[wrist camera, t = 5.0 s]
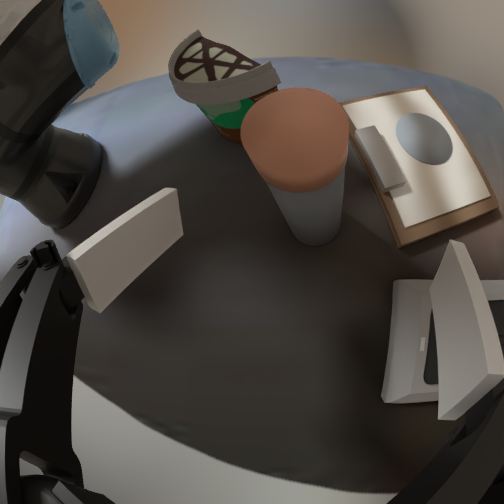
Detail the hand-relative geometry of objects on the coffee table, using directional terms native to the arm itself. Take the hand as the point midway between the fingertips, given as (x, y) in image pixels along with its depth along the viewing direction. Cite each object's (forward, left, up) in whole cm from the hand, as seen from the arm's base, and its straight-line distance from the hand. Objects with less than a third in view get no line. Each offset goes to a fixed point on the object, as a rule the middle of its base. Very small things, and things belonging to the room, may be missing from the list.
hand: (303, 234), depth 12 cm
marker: (+1, +4, -11) cm, 11 cm away
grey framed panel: (+11, -10, -11) cm, 19 cm away
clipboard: (+13, +7, -10) cm, 18 cm away
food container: (-3, +17, -11) cm, 20 cm away
